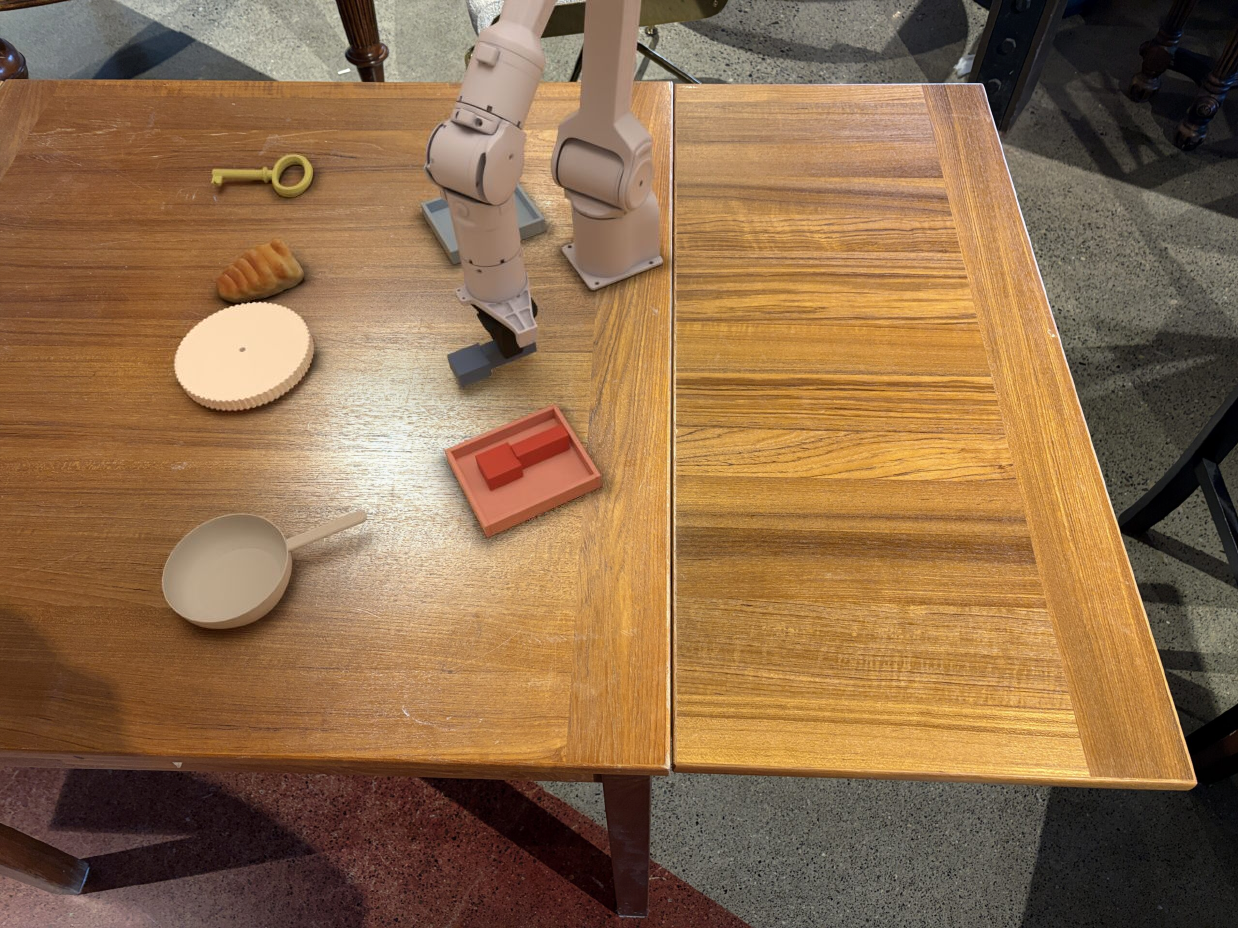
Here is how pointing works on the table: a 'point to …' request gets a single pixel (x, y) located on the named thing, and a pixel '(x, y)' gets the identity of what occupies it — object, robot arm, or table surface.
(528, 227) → the blue tray
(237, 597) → the beige frying pan
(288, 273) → the pastry
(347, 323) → the table surface
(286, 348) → the cream gear wheel
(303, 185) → the key
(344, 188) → the table surface
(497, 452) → the red stepped bar
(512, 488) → the red tray
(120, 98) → the table surface
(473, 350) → the stepped square rod
